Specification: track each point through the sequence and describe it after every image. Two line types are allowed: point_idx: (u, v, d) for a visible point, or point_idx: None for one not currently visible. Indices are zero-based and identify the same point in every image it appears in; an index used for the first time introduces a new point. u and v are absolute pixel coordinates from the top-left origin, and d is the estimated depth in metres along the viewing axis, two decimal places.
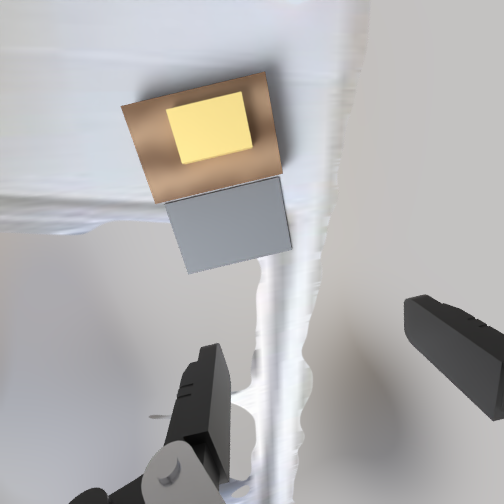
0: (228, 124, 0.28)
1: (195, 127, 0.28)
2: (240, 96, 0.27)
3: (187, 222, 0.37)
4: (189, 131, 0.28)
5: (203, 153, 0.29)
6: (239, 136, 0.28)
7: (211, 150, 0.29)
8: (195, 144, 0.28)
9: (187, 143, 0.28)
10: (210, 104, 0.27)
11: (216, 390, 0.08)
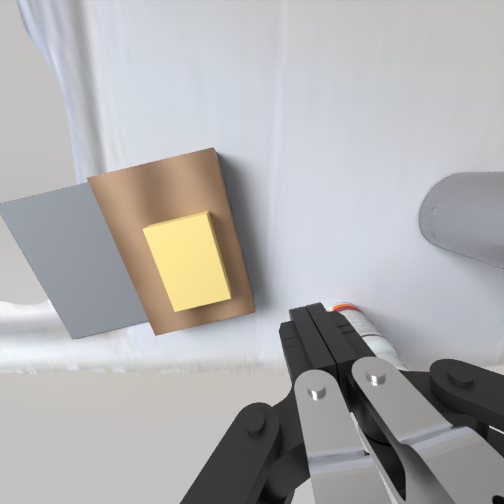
0: (196, 285, 0.23)
1: (189, 248, 0.22)
2: (225, 297, 0.24)
3: (82, 209, 0.26)
4: (183, 241, 0.22)
5: (159, 256, 0.22)
6: (184, 297, 0.24)
7: (164, 266, 0.23)
8: (169, 247, 0.22)
9: (169, 237, 0.22)
10: (215, 266, 0.23)
11: None
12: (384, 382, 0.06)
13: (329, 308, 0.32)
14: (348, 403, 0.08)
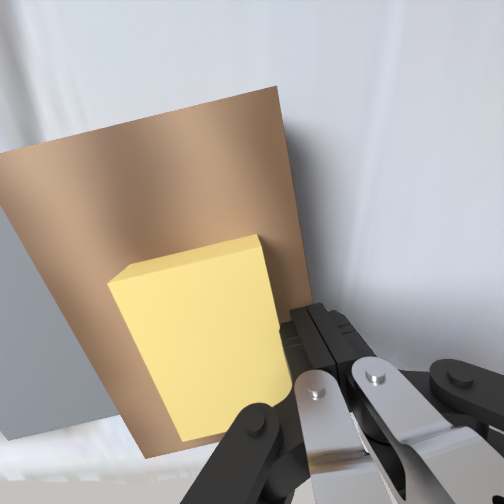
0: (229, 394, 0.11)
1: (216, 323, 0.10)
2: None
3: (4, 227, 0.13)
4: (205, 307, 0.09)
5: (148, 341, 0.10)
6: (203, 416, 0.11)
7: (160, 360, 0.10)
8: (170, 321, 0.10)
9: (171, 301, 0.09)
10: (273, 357, 0.10)
11: None
12: (384, 382, 0.06)
13: None
14: (348, 403, 0.08)
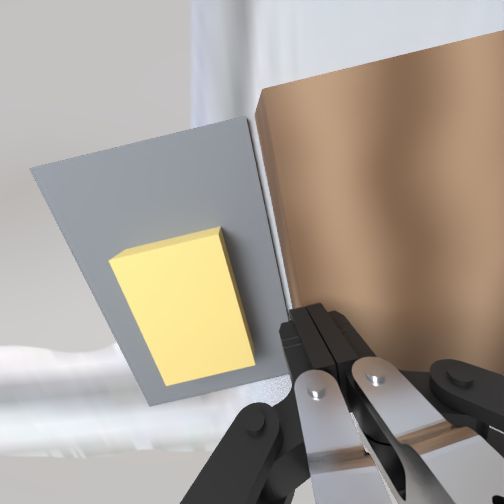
0: None
1: None
2: None
3: (197, 180, 0.13)
4: None
5: None
6: None
7: None
8: None
9: None
10: None
11: None
12: (384, 382, 0.06)
13: None
14: (348, 403, 0.08)
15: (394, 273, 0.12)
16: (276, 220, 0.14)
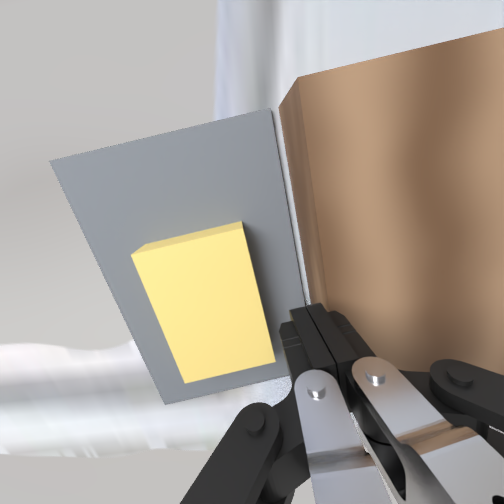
0: None
1: None
2: None
3: (220, 173, 0.13)
4: None
5: None
6: None
7: None
8: None
9: None
10: None
11: None
12: (384, 382, 0.06)
13: None
14: (348, 403, 0.08)
15: (422, 267, 0.12)
16: (298, 214, 0.14)
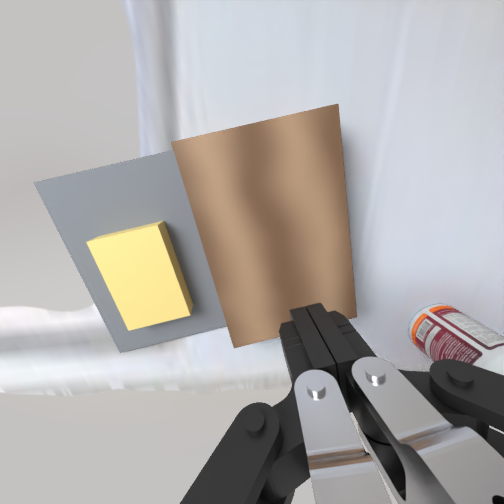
0: None
1: None
2: None
3: (146, 190, 0.20)
4: None
5: None
6: None
7: None
8: None
9: None
10: None
11: None
12: (384, 382, 0.06)
13: (423, 310, 0.27)
14: (348, 403, 0.08)
15: (266, 248, 0.19)
16: None
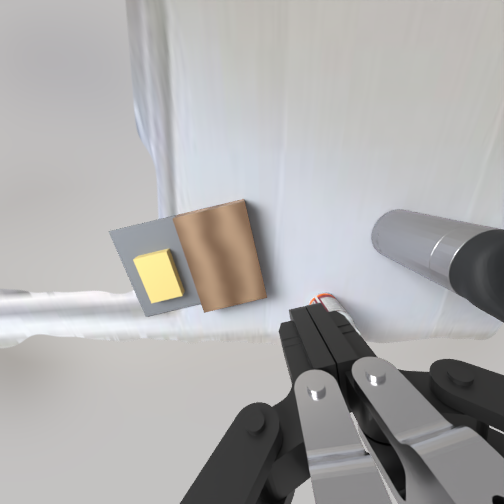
0: None
1: None
2: None
3: (161, 234, 0.42)
4: None
5: None
6: None
7: None
8: None
9: None
10: None
11: None
12: (384, 382, 0.06)
13: (314, 296, 0.48)
14: (348, 403, 0.08)
15: (217, 263, 0.40)
16: None
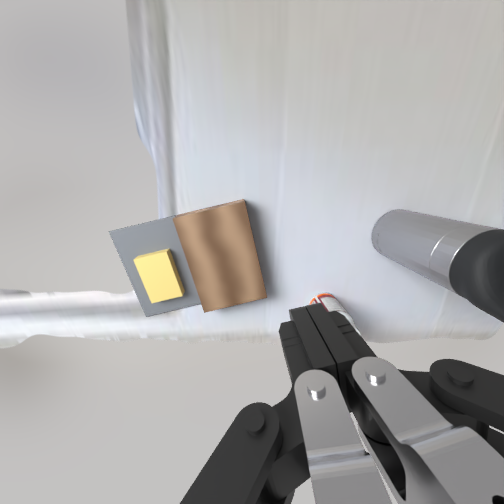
0: None
1: None
2: None
3: (161, 234, 0.42)
4: None
5: None
6: None
7: None
8: None
9: None
10: None
11: None
12: (384, 382, 0.06)
13: (314, 296, 0.48)
14: (348, 403, 0.08)
15: (217, 263, 0.40)
16: None
